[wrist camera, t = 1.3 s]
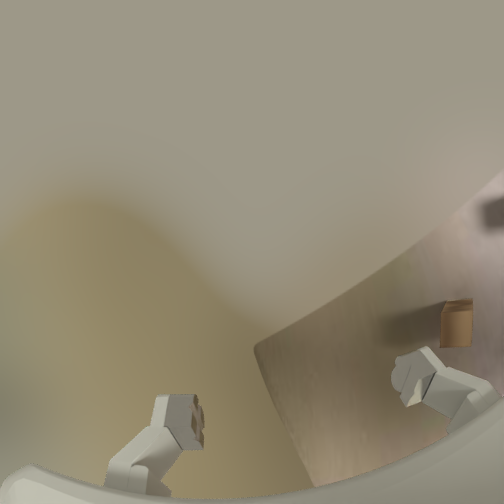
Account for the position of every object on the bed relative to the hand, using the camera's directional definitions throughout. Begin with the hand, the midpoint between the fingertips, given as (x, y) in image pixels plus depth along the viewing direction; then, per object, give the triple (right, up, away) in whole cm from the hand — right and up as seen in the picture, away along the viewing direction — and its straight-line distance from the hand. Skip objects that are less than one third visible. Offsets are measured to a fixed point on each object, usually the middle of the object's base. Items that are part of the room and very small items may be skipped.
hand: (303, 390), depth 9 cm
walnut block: (+33, -5, +26) cm, 43 cm away
